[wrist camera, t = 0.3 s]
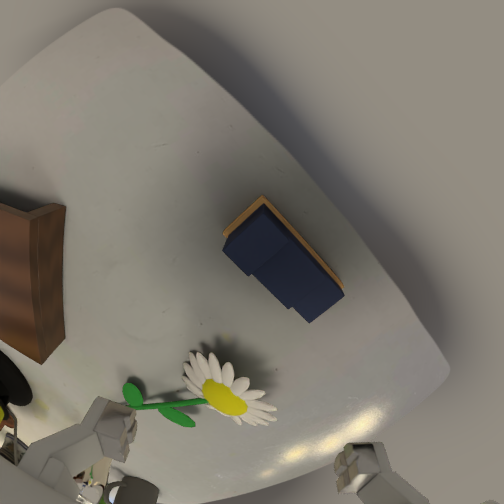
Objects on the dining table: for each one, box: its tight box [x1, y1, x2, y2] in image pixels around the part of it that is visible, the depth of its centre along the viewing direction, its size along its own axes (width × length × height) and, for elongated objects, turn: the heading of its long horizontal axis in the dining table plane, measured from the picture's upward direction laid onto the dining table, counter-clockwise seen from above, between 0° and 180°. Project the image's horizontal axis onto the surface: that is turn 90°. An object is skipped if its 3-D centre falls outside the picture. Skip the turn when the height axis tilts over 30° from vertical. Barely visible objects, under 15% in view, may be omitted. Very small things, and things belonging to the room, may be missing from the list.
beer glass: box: [73, 456, 112, 504], centre depth 35 cm, size 7×7×15 cm
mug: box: [103, 477, 159, 504], centre depth 42 cm, size 14×9×12 cm
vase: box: [0, 433, 29, 465], centre depth 38 cm, size 17×17×30 cm
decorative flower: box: [122, 352, 278, 427], centre depth 34 cm, size 13×5×30 cm
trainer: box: [222, 195, 345, 323], centre depth 26 cm, size 12×5×6 cm, turn 43°
